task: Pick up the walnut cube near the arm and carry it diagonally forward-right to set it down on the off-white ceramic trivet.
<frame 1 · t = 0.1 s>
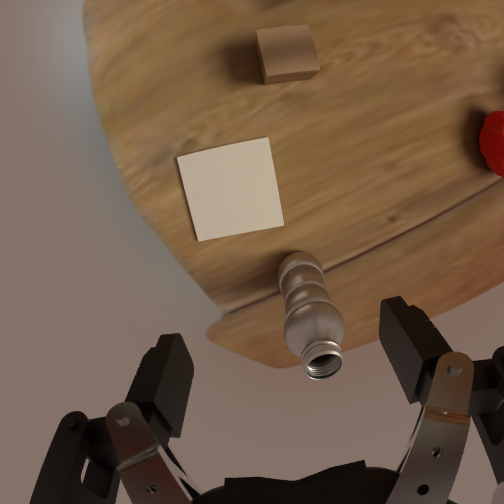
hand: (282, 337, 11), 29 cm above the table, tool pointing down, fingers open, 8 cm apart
tomato: (491, 141, 33), on the table
cube: (283, 61, 31), on the table
plastic bottle: (297, 267, 42), on the table
trivet: (231, 190, 38), on the table
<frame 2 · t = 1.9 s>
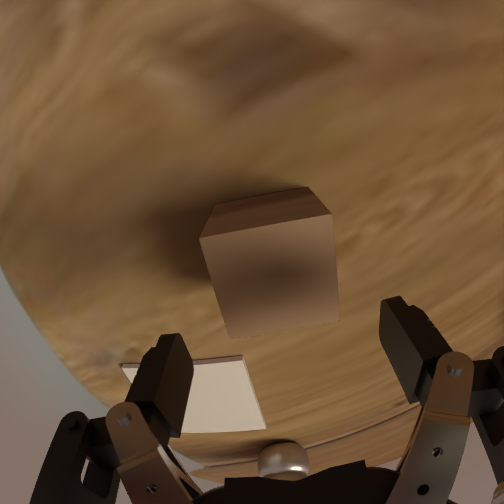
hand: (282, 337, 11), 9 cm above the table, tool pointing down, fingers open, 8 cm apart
cube: (269, 238, 19), on the table
plastic bottle: (281, 446, 31), on the table
trivet: (198, 400, 26), on the table
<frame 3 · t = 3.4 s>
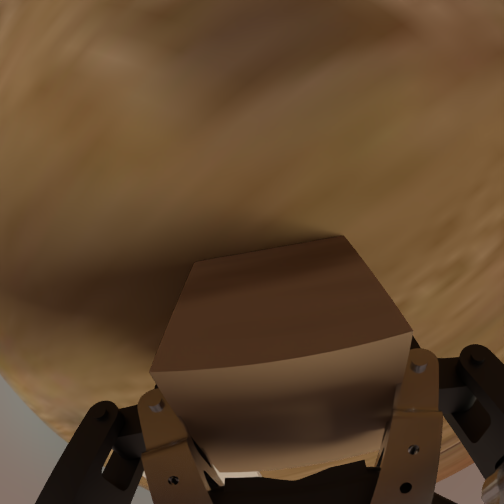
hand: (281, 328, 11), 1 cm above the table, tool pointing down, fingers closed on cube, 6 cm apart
cube: (280, 311, 12), on the table, touching gripper
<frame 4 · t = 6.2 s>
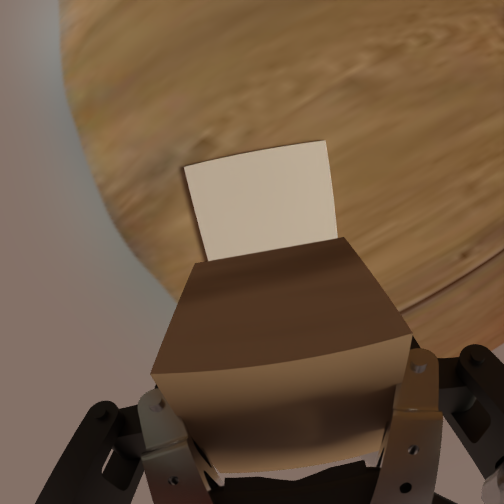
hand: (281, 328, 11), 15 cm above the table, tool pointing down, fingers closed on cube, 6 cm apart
cube: (280, 312, 12), point 14 cm above the table, touching gripper
trivet: (267, 218, 25), on the table
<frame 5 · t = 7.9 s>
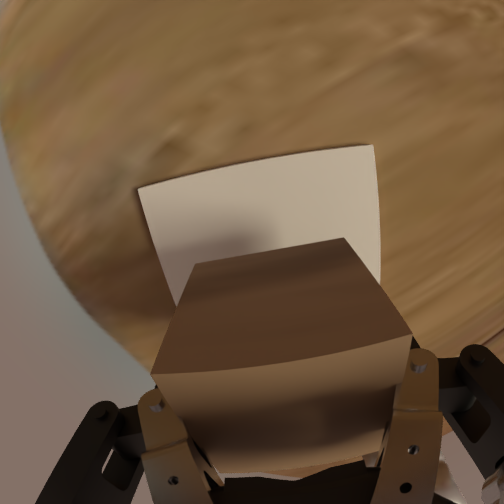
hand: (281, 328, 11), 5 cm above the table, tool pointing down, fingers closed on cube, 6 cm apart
cube: (280, 313, 12), point 4 cm above the table, touching gripper
plastic bottle: (377, 386, 21), on the table
trivet: (274, 268, 16), on the table
when the fingers open (3 cm above the table, at t = 9.3 s): cube drops 1 cm, resting on trivet.
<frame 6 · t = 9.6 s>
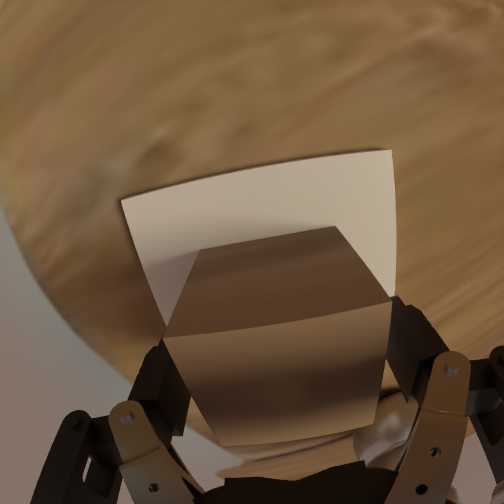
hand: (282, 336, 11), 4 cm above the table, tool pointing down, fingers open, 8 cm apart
cube: (278, 296, 13), point 1 cm above the table, touching trivet
plastic bottle: (384, 406, 19), on the table
trivet: (277, 289, 14), on the table
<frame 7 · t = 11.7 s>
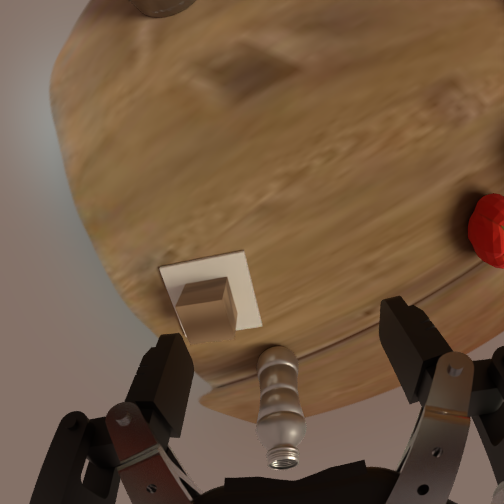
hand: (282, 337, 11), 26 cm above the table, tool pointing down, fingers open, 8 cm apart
tomato: (482, 221, 35), on the table
cube: (211, 298, 40), point 1 cm above the table, touching trivet
plastic bottle: (276, 355, 45), on the table
trivet: (212, 296, 40), on the table
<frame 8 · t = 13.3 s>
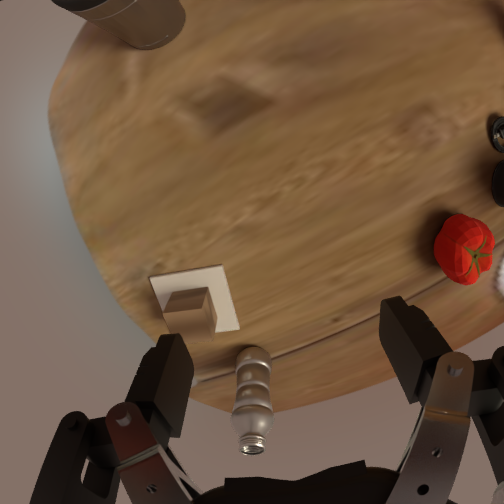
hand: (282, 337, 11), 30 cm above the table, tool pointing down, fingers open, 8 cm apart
milk frother: (502, 162, 35), on the table
tomato: (450, 238, 41), on the table
cube: (195, 305, 45), point 1 cm above the table, touching trivet
plastic bottle: (253, 354, 50), on the table
trivet: (195, 303, 46), on the table
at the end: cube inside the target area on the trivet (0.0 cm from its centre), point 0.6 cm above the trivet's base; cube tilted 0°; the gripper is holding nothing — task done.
